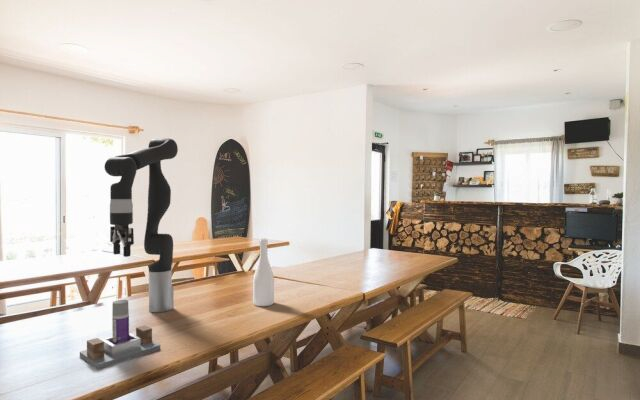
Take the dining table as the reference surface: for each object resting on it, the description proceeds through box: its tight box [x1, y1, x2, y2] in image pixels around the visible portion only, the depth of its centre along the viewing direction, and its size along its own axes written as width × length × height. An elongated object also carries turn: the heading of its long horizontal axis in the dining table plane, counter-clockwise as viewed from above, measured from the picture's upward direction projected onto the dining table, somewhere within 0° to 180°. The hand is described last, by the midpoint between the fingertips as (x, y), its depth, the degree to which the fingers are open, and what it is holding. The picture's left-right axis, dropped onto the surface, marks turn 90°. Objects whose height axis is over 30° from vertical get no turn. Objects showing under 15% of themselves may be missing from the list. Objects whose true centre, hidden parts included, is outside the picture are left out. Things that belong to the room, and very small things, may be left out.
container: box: [111, 299, 130, 345], centre depth 124 cm, size 5×5×15 cm
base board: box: [79, 340, 161, 371], centre depth 124 cm, size 19×14×2 cm
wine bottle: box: [252, 238, 275, 307], centre depth 178 cm, size 10×10×30 cm
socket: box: [100, 332, 141, 356], centre depth 124 cm, size 9×9×3 cm
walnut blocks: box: [86, 324, 153, 360], centre depth 124 cm, size 18×5×4 cm, turn 140°
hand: (121, 255), depth 143 cm, fingers open, 8 cm apart
